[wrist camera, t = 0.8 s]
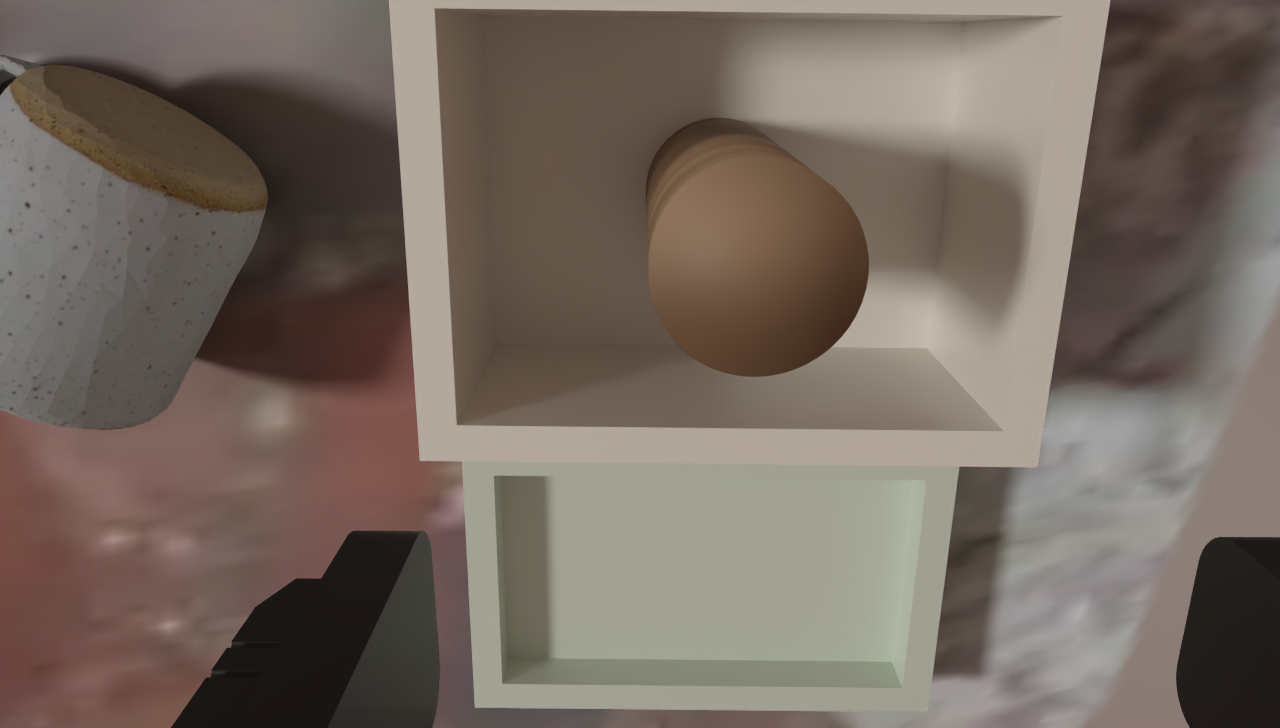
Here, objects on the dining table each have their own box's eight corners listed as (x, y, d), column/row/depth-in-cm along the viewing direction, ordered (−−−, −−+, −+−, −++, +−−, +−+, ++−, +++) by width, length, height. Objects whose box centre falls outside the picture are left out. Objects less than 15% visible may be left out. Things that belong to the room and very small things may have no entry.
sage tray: (474, 418, 33) (461, 446, 31) (938, 422, 33) (961, 452, 31) (485, 664, 36) (475, 707, 34) (909, 668, 36) (928, 712, 34)
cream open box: (453, -20, 29) (386, -41, 21) (990, -13, 29) (1115, -32, 21) (471, 362, 32) (420, 460, 25) (944, 367, 32) (1037, 467, 25)
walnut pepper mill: (646, 116, 29) (649, 160, 18) (793, 118, 29) (878, 162, 18) (644, 260, 30) (646, 376, 20) (784, 261, 30) (859, 378, 20)
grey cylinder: (319, 176, 31) (214, 215, 23) (212, 381, 33) (84, 475, 25) (4, -17, 29) (-216, -40, 22) (-87, 213, 31) (-315, 262, 24)
